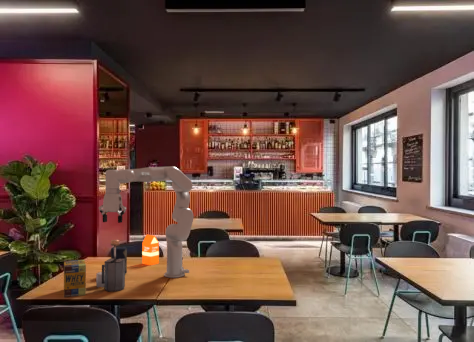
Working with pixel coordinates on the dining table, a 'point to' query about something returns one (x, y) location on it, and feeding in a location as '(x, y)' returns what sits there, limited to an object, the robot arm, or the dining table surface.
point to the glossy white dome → (99, 279)
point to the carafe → (114, 275)
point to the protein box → (74, 278)
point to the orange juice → (150, 250)
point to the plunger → (114, 243)
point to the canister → (120, 254)
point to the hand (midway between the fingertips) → (112, 222)
